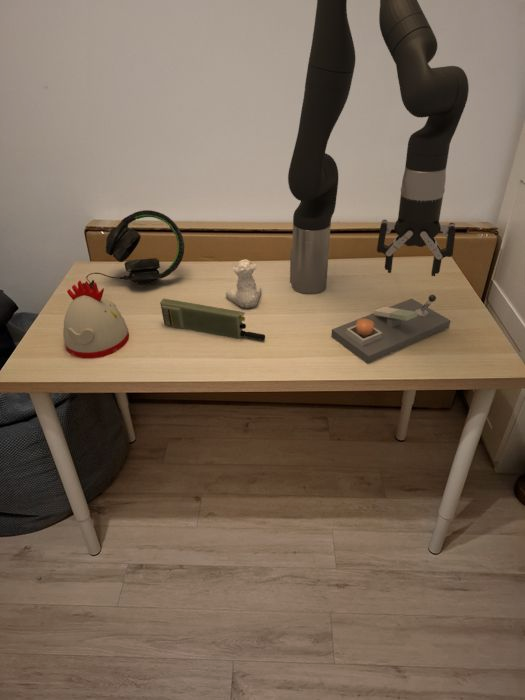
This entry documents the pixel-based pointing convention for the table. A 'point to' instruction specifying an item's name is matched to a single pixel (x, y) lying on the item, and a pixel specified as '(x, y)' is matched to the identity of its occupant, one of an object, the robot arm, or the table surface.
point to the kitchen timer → (93, 324)
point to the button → (364, 327)
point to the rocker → (395, 313)
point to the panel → (390, 332)
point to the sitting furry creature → (245, 285)
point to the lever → (428, 302)
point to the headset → (126, 241)
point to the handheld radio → (205, 319)
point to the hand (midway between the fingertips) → (411, 273)
